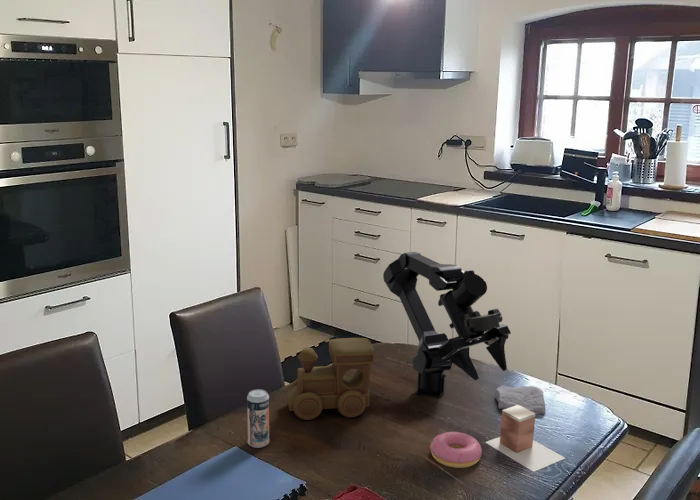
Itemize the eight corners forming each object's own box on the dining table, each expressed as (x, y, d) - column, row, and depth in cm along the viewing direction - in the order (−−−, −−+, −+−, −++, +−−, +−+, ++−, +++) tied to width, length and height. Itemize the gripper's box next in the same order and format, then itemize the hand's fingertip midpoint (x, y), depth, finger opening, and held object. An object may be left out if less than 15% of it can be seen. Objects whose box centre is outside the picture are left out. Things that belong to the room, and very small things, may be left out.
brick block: (499, 443, 153) (502, 410, 151) (515, 437, 156) (518, 404, 154) (516, 453, 149) (519, 419, 147) (532, 446, 152) (535, 413, 150)
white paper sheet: (484, 443, 154) (485, 442, 154) (516, 431, 159) (516, 430, 159) (533, 472, 142) (533, 471, 142) (565, 459, 148) (565, 458, 148)
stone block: (547, 423, 167) (541, 398, 176) (549, 407, 165) (543, 382, 174) (497, 422, 169) (494, 396, 178) (498, 406, 167) (495, 381, 176)
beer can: (251, 451, 148) (251, 399, 145) (244, 441, 152) (243, 390, 149) (272, 446, 150) (272, 395, 148) (264, 436, 154) (264, 386, 152)
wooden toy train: (365, 397, 175) (367, 335, 171) (374, 418, 164) (376, 353, 160) (286, 401, 171) (286, 338, 168) (290, 423, 161) (290, 356, 157)
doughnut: (491, 459, 147) (493, 441, 146) (458, 478, 140) (459, 459, 139) (452, 439, 155) (453, 422, 154) (419, 456, 148) (419, 438, 147)
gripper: (451, 305, 152) (483, 371, 146) (509, 292, 162) (541, 352, 157) (424, 327, 160) (454, 389, 155) (481, 312, 171) (511, 370, 165)
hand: (491, 374), depth 158 cm, fingers open, 9 cm apart
